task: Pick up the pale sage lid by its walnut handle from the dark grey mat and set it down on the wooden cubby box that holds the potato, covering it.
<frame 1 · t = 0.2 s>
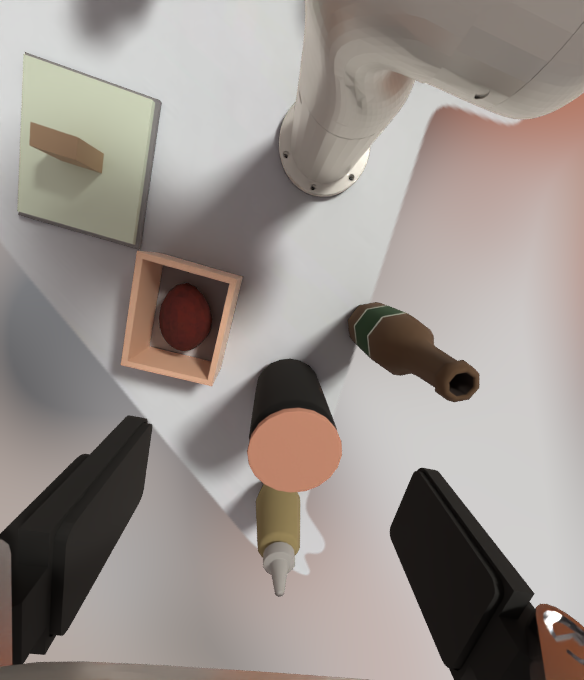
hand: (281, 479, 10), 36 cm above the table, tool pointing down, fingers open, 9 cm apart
coffee jar: (287, 385, 49), on the table
squeeze bottle: (277, 486, 54), on the table
lid: (86, 159, 37), point 1 cm above the table, touching mat
wooden cubby box: (192, 314, 44), on the table
mat: (89, 161, 38), on the table
potato: (192, 313, 44), resting in wooden cubby box
beer bottle: (368, 323, 47), on the table
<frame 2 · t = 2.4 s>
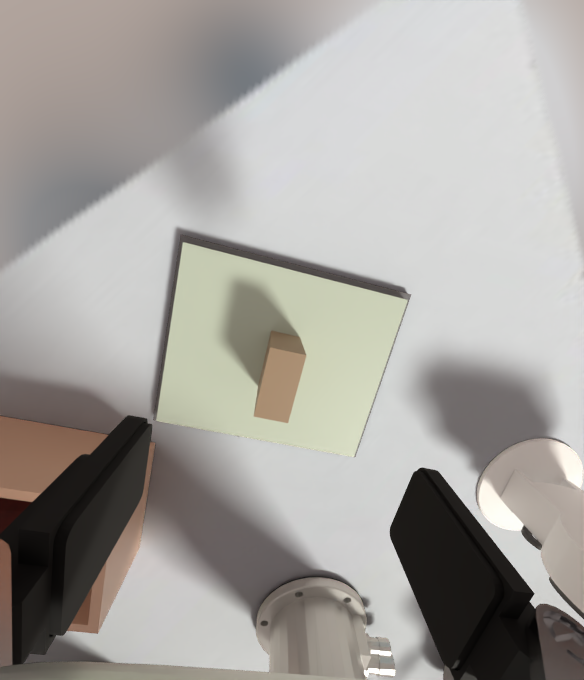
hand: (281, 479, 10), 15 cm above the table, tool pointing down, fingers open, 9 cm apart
lid: (278, 359, 24), point 1 cm above the table, touching mat
wooden cubby box: (62, 485, 27), on the table
mat: (278, 357, 25), on the table
panda figurine: (523, 483, 30), on the table
potato: (64, 483, 27), resting in wooden cubby box
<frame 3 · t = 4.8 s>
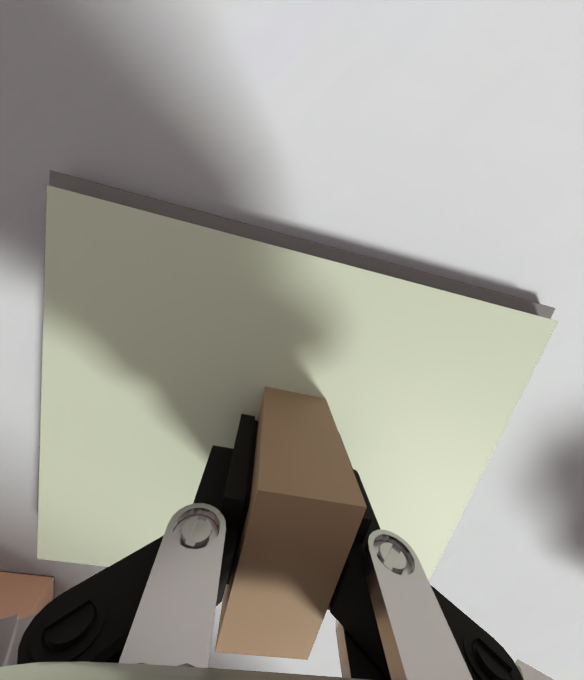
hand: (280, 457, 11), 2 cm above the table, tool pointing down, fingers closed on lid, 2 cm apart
lid: (280, 435, 12), point 1 cm above the table, touching gripper, mat
mat: (279, 428, 13), on the table
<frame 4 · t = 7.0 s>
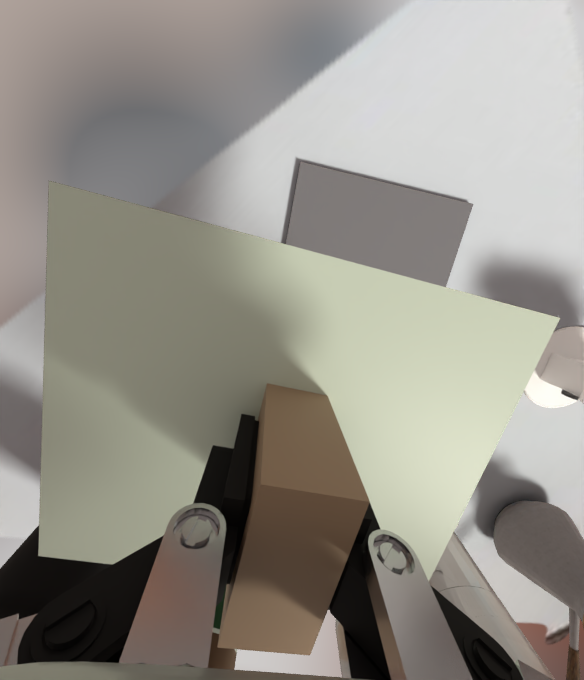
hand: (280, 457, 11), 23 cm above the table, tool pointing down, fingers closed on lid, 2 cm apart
coffee jar: (124, 488, 38), on the table
lid: (281, 433, 12), point 22 cm above the table, touching gripper
coffee pot: (505, 542, 45), on the table
mat: (368, 262, 32), on the table
panda figurine: (558, 367, 37), on the table
beer bottle: (219, 552, 42), on the table
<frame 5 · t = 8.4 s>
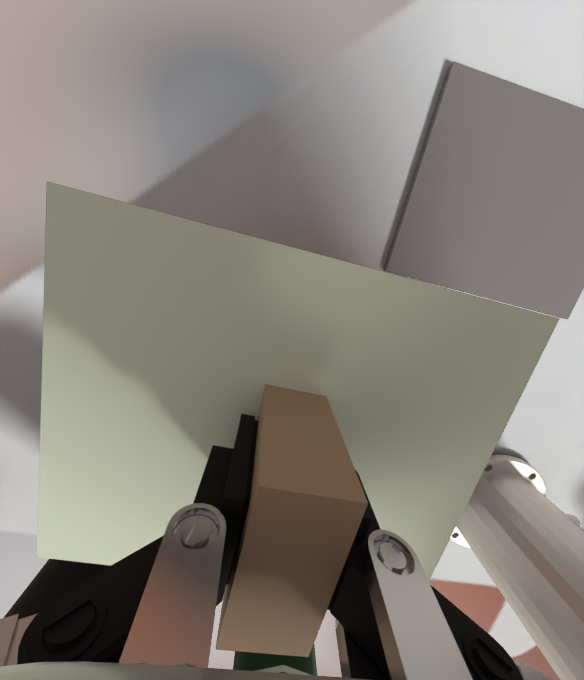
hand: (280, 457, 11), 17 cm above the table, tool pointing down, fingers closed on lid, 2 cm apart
coffee jar: (172, 480, 31), on the table
lid: (280, 434, 12), point 15 cm above the table, touching gripper
mat: (512, 207, 25), on the table
beer bottle: (276, 565, 35), on the table
when the fingers open (10 cm above the table, at t = 9.6 s): lid drops 1 cm, resting on wooden cubby box.
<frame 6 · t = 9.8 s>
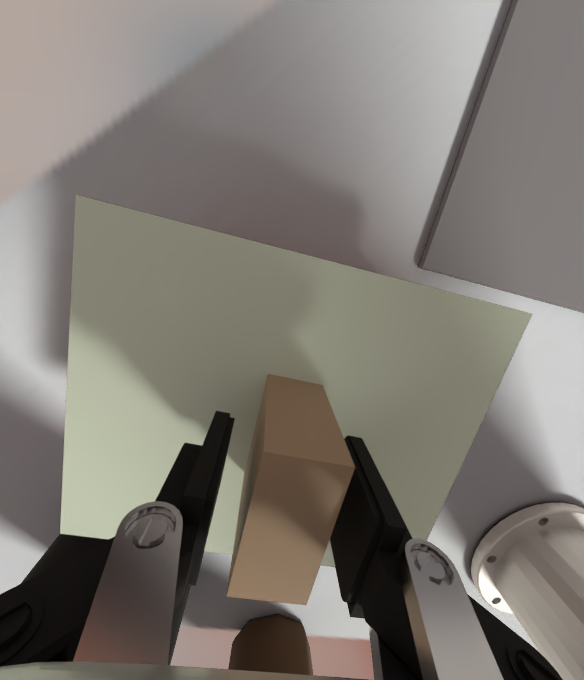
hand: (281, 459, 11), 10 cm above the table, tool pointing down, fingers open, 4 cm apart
coffee jar: (136, 541, 24), on the table
lid: (281, 420, 13), point 7 cm above the table, touching wooden cubby box
beer bottle: (271, 637, 28), on the table
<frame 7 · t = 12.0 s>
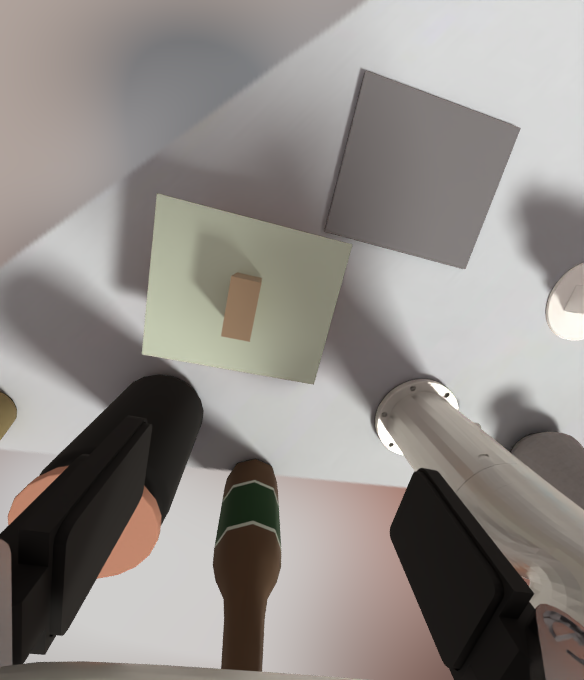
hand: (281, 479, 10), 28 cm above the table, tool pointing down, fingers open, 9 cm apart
coffee jar: (165, 406, 39), on the table
lid: (245, 299, 28), point 7 cm above the table, touching wooden cubby box
coffee pot: (516, 475, 48), on the table
mat: (418, 181, 33), on the table
panda figurine: (580, 300, 40), on the table
beer bottle: (252, 477, 43), on the table
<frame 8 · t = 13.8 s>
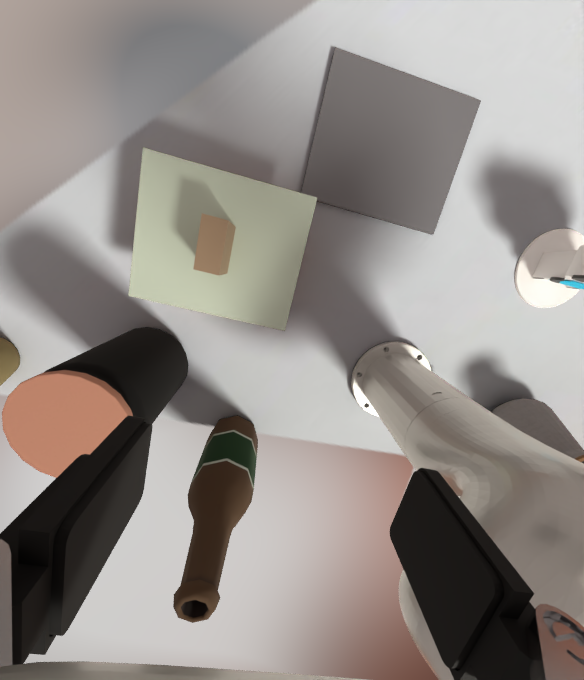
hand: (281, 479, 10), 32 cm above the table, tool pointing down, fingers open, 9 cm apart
coffee jar: (154, 359, 42), on the table
squeeze bottle: (0, 354, 40), on the table
lid: (221, 248, 31), point 7 cm above the table, touching wooden cubby box
coffee pot: (493, 445, 50), on the table
mat: (386, 150, 36), on the table
panda figurine: (548, 269, 42), on the table
beer bottle: (234, 434, 46), on the table
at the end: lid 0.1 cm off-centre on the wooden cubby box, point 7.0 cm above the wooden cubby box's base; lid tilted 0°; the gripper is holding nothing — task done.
